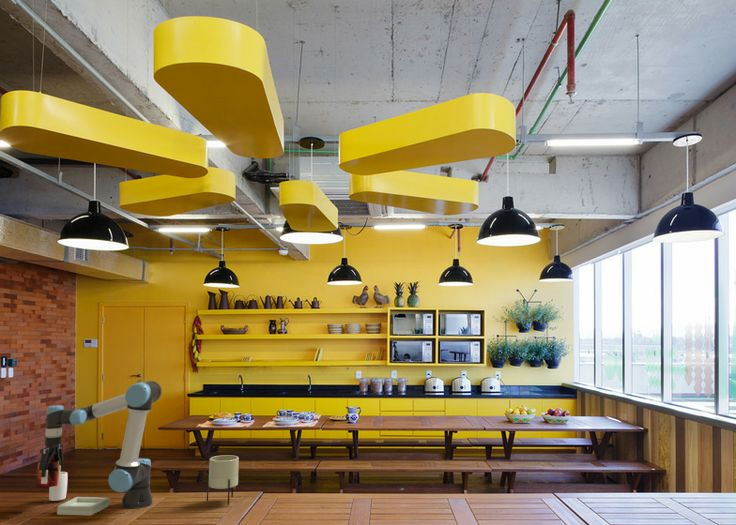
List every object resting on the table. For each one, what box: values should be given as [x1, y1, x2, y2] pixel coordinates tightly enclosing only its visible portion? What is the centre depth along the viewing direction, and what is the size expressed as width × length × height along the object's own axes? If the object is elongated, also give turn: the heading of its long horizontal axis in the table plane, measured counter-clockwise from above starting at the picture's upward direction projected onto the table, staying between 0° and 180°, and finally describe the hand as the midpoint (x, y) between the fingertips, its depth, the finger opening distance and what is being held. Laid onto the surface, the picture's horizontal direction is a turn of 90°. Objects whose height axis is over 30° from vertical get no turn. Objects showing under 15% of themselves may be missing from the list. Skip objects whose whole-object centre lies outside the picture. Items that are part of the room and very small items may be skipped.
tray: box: [56, 496, 110, 516], centre depth 286 cm, size 18×16×4 cm
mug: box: [36, 458, 59, 489], centre depth 289 cm, size 10×14×12 cm
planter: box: [206, 454, 240, 506], centre depth 302 cm, size 15×16×23 cm
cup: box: [48, 471, 69, 502], centre depth 302 cm, size 8×8×14 cm
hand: (50, 480), depth 289 cm, fingers closed on mug, 10 cm apart
